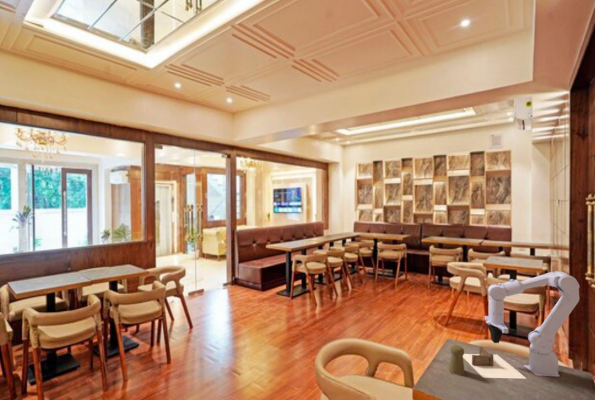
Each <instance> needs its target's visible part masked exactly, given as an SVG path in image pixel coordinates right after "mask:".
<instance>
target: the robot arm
mask: <svg viewBox="0 0 595 400" xmlns="http://www.w3.org/2000/svg"><path fill="white" fill-rule="evenodd" d="M540 286H541V287H542V286H549V287H554V288H557V289H558V291H559V294H560V298H558V301H556V304H555V305H554V306H553V308H552V309H551V310H550V312H549V313H548V315H547V317H546V318H545V319H544V321H543V323H541V325H540V326H537V327H536V328H535V329H534V330H533V331H530V332H529V333H528V335H527V339H528V341H529V343H530V345H529V349H528V351H529V353H528V364H524V365H523V366H524V367H526V369H527V370H529V371H530V372H531V373H533V374H534V375H536V376H539V377H546V376H547V377H557V378H558V377H560V374H559V359H558V356H557V354H556V353H555V352H554V351H553V345H554V344H555V342H556V341H555V340H556V334H557V332H559V330H560V329H561V327H562V326H563V324H564V323H565V322H566V320H567V318H568V317H569V316H570V314H571V313H572V311H573V310H574V309H575V307H576V306H577V304H578V303H579V302H580V284H579V282H578V280H577V279H576V278H575V277H574V276H572V275H569V274H567V273H566V272H564V271H562V270H556V271H551V272H550V271H549V272H547V273H543V274H541V275H537V276H535V277H531V278H527V279H524V280H518V279H513V278H511V279H509V280H508V281H507V282H502V283H501V282H498V283H497V284H496V283H494V284H491V285H489V286H488V288H487V292H488V294H489V295H488V299H489V300H488V315H484V321H485V323H486V327H487V328H488V330H489V333H490V336H491V337H490V338H491V341H492V342H493V344H499V343H500V341H501V338H502V335H503V334H509V328H508V327H507V326H506V323H505V322H504V319H505V317H504V316H505V313H504V312H505V311H504V310H505V309H504V308H505V303H504V299H506V297H511V296H515V295H519V294H523V293H524V292H525V290H526V289H532V288H536V287H537V288H538V287H540Z"/></svg>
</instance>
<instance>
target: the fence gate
mask: <svg viewBox="0 0 595 400" xmlns="http://www.w3.org/2000/svg"><path fill="white" fill-rule="evenodd" d="M472 365H474V366H475V365H489V356H488V355H472Z"/></svg>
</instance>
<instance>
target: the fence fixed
mask: <svg viewBox="0 0 595 400" xmlns="http://www.w3.org/2000/svg"><path fill="white" fill-rule="evenodd" d="M478 352H479V353H478V354H479V355H488V356H489V365H490V366H493V355H494V354H492V353H489V352H488V351H486V350H485V348H483V347H482V346H480V347H479V351H478Z"/></svg>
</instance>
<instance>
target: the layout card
mask: <svg viewBox="0 0 595 400" xmlns="http://www.w3.org/2000/svg"><path fill="white" fill-rule="evenodd" d="M472 355H479V353H477V354H476V353H464V355H463V360H465V361H466V362H467V363H468V364H469V365H470V366H471V368H473V369H474V370H475V371H476V372H477V373H478V374H479V375H480V376H481V377H482V378H484V379H519V380H521V379H522V380H523V379H525V380H526V379H527V378H526V376H524V375H523V374H522V373H520V371H518V370H517V369H516V368H515V367H513V366H512V365H511V364H510V363H508V362H507V361H506V360H505V359H503V358H502V357H501V356H500V355H498V354H493V366H490V365H475V366H474V365H472Z"/></svg>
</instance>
